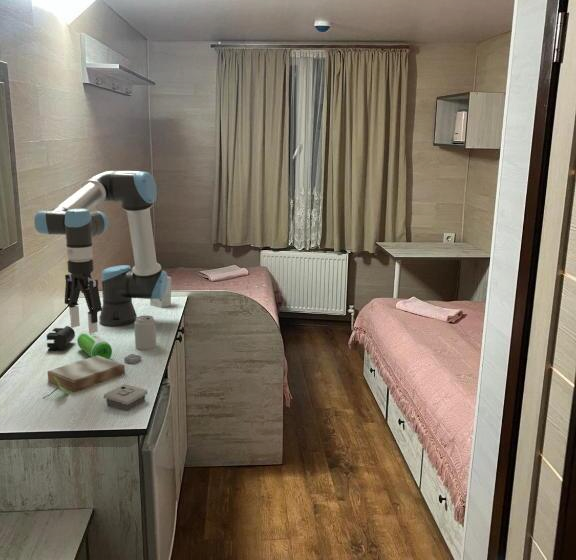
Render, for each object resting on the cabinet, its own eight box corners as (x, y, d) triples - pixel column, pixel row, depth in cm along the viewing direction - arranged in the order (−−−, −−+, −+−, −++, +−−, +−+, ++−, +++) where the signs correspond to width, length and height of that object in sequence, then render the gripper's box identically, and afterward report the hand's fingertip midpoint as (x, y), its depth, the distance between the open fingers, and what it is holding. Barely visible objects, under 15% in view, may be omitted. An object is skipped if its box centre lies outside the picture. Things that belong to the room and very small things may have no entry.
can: (160, 348, 230) (159, 317, 227) (143, 353, 224) (141, 321, 222) (148, 343, 235) (147, 313, 232) (131, 348, 229) (130, 317, 227)
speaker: (76, 350, 226) (75, 331, 225) (96, 347, 231) (95, 327, 229) (93, 365, 213) (92, 344, 211) (113, 361, 217) (112, 340, 215)
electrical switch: (123, 383, 187) (147, 384, 183) (126, 400, 188) (150, 401, 184) (101, 394, 179) (125, 396, 175) (104, 411, 180) (128, 413, 175)
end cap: (66, 352, 225) (65, 334, 223) (47, 351, 225) (45, 333, 223) (75, 343, 234) (74, 325, 233) (56, 342, 234) (55, 325, 233)
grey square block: (131, 360, 218) (131, 354, 217) (141, 362, 216) (141, 355, 216) (124, 364, 214) (124, 357, 213) (134, 366, 213) (134, 359, 212)
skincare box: (150, 307, 284) (148, 275, 281) (160, 304, 289) (159, 273, 285) (162, 310, 279) (161, 278, 276) (172, 307, 284) (171, 276, 280)
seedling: (56, 413, 185) (74, 398, 187) (41, 399, 180) (60, 384, 182) (46, 399, 190) (64, 385, 192) (32, 386, 184) (50, 371, 186)
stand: (98, 365, 212) (98, 354, 211) (124, 375, 204) (124, 364, 203) (48, 381, 198) (47, 370, 197) (74, 393, 189) (73, 381, 188)
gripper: (49, 256, 195) (54, 325, 201) (91, 266, 183) (94, 339, 188) (70, 253, 201) (74, 320, 206) (112, 262, 189) (115, 333, 194)
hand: (84, 329), depth 197 cm, fingers open, 9 cm apart
